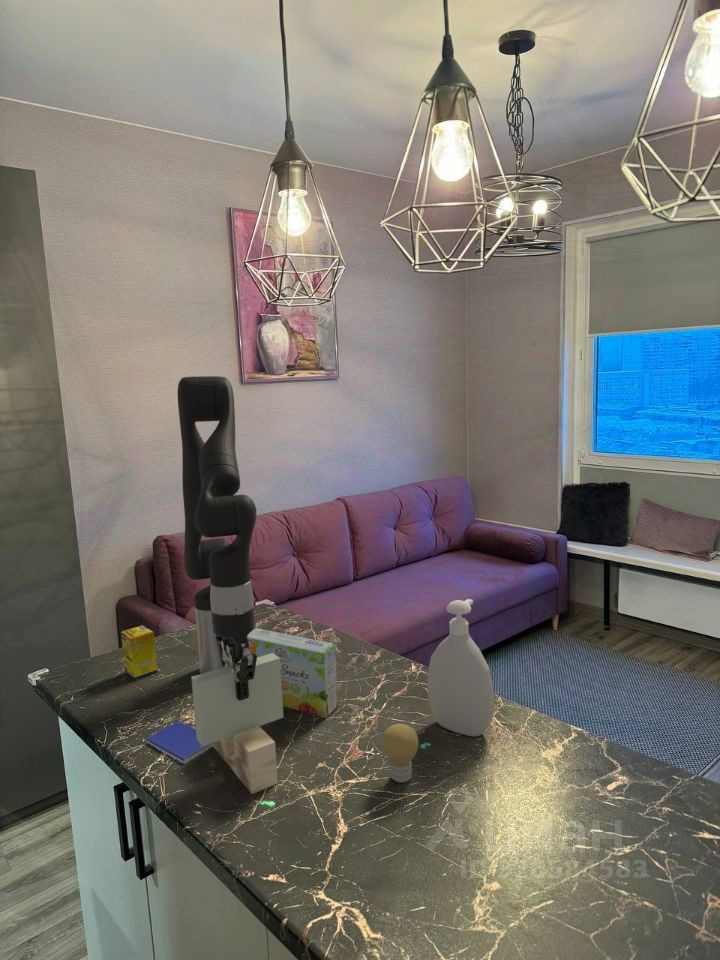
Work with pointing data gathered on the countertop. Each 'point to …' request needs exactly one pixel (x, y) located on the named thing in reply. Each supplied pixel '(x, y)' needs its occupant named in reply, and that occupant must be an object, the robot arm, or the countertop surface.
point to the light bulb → (400, 750)
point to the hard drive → (178, 742)
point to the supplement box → (139, 652)
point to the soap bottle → (460, 679)
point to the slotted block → (250, 758)
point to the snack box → (301, 670)
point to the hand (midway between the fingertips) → (238, 694)
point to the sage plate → (236, 700)
